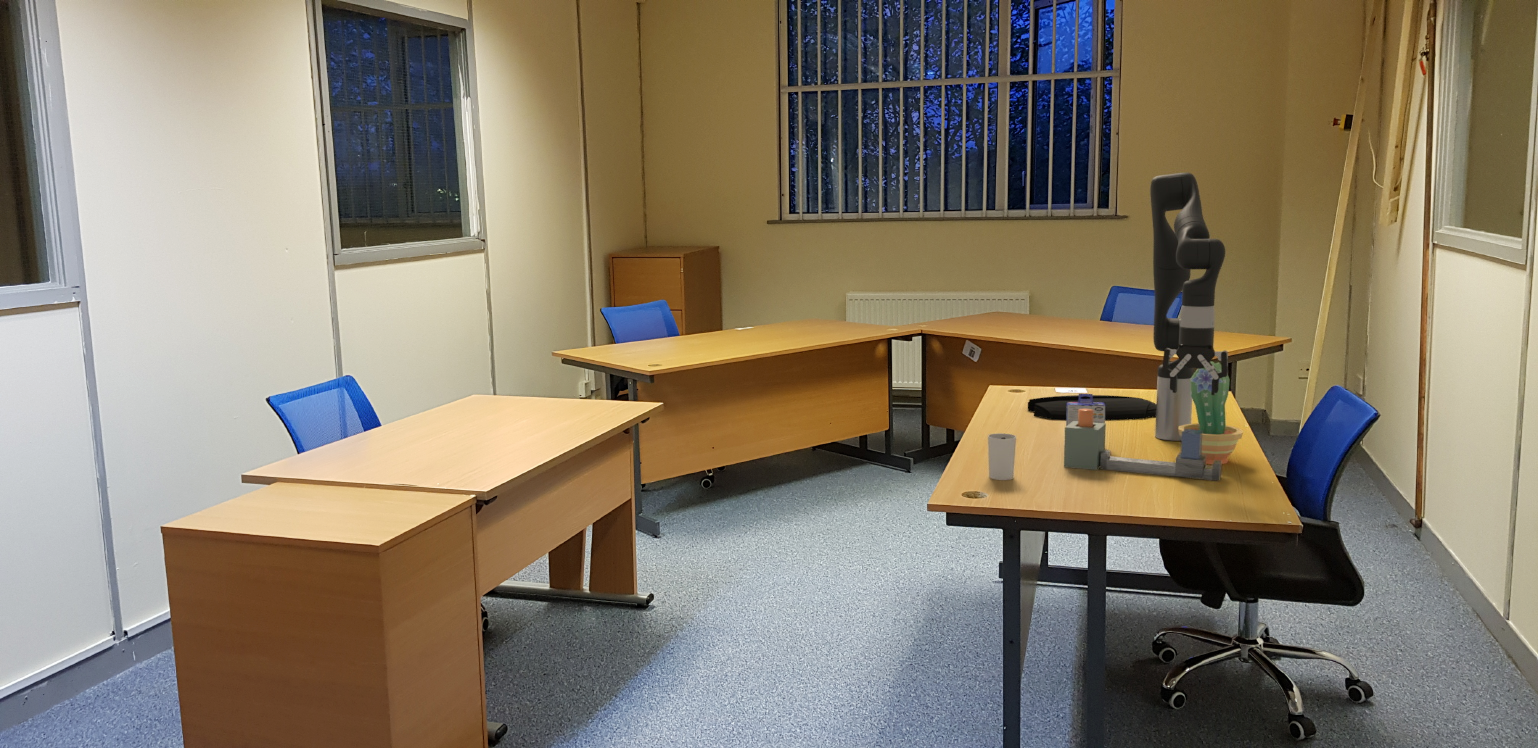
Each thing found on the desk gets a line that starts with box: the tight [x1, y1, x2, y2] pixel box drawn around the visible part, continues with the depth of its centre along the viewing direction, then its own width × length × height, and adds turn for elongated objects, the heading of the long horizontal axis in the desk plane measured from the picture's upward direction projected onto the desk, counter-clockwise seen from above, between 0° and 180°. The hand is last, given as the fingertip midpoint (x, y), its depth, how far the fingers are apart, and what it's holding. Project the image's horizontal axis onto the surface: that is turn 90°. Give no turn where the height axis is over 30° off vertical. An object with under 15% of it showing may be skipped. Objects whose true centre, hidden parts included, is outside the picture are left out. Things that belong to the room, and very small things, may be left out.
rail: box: [1099, 449, 1222, 482], centre depth 255 cm, size 4×27×4 cm, turn 61°
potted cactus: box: [1178, 361, 1244, 465], centre depth 266 cm, size 15×16×25 cm
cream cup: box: [987, 432, 1017, 481], centre depth 253 cm, size 7×7×10 cm
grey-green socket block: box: [1063, 421, 1107, 471], centre depth 264 cm, size 9×8×10 cm
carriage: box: [1175, 429, 1207, 477], centre depth 251 cm, size 7×6×10 cm
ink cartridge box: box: [1065, 393, 1106, 427], centre depth 282 cm, size 10×6×14 cm, turn 78°
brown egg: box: [1078, 409, 1094, 428], centre depth 263 cm, size 4×4×6 cm
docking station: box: [1027, 394, 1156, 421], centre depth 332 cm, size 25×40×5 cm, turn 89°
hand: (1193, 393), depth 249 cm, fingers open, 8 cm apart
